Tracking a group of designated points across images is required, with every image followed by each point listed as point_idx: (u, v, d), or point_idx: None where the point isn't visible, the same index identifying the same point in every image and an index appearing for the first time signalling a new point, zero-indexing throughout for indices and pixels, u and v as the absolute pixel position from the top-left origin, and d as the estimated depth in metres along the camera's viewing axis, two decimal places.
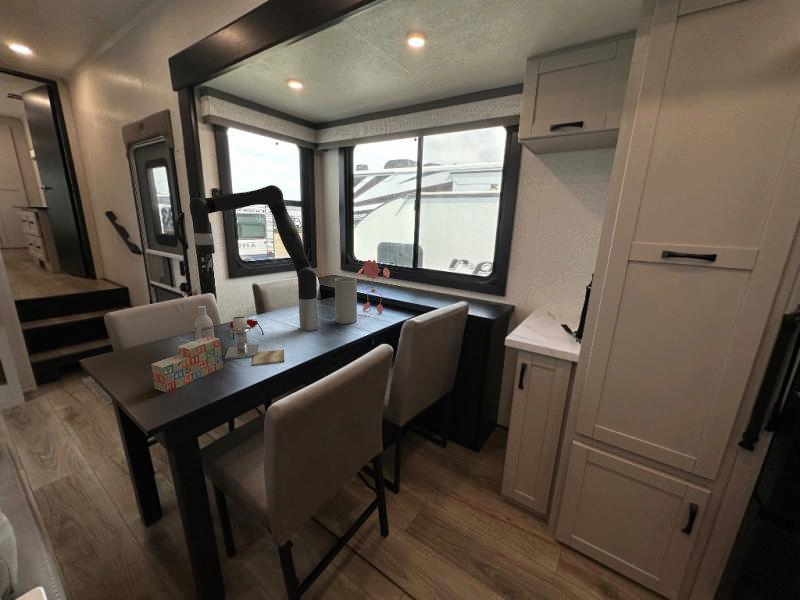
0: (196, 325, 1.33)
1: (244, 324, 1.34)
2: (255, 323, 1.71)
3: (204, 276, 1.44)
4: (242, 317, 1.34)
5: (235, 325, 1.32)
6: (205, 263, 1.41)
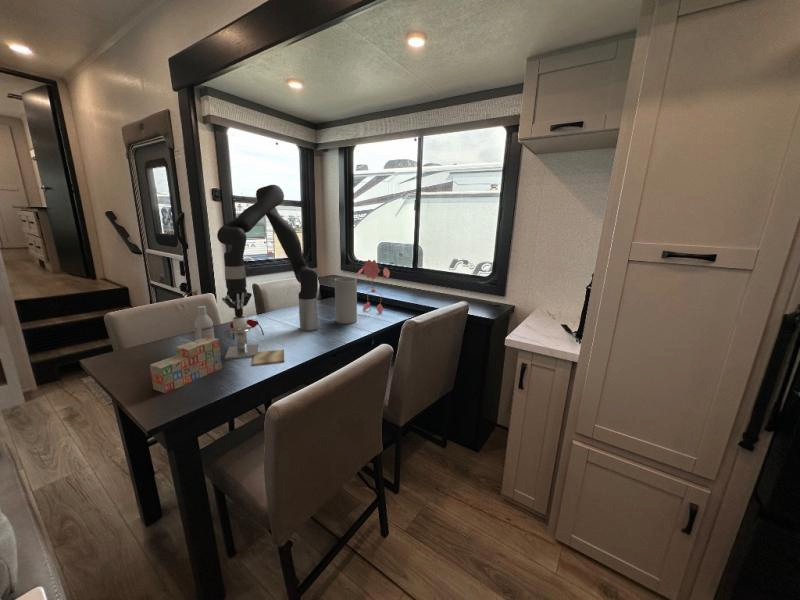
0: (196, 325, 1.33)
1: (244, 324, 1.34)
2: (255, 323, 1.71)
3: (242, 312, 1.35)
4: (242, 317, 1.34)
5: (235, 325, 1.32)
6: None
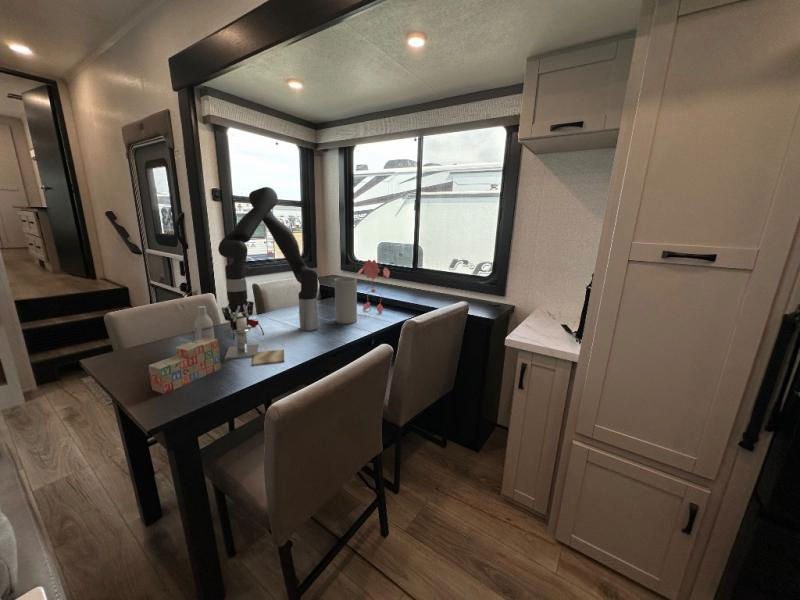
0: (196, 325, 1.33)
1: (244, 324, 1.34)
2: (256, 323, 1.71)
3: (248, 321, 1.38)
4: (242, 317, 1.34)
5: None
6: None
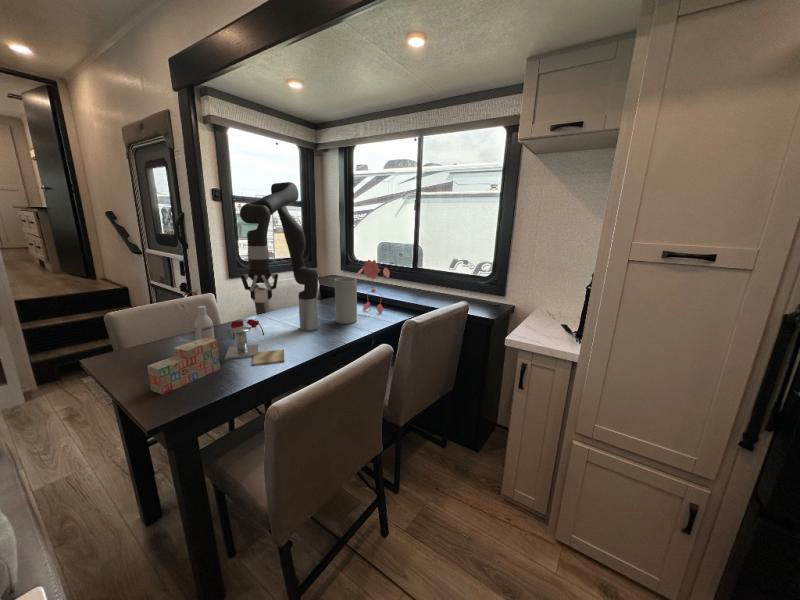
0: (196, 325, 1.33)
1: (261, 296, 1.25)
2: (256, 323, 1.72)
3: None
4: (262, 289, 1.26)
5: (254, 295, 1.26)
6: None
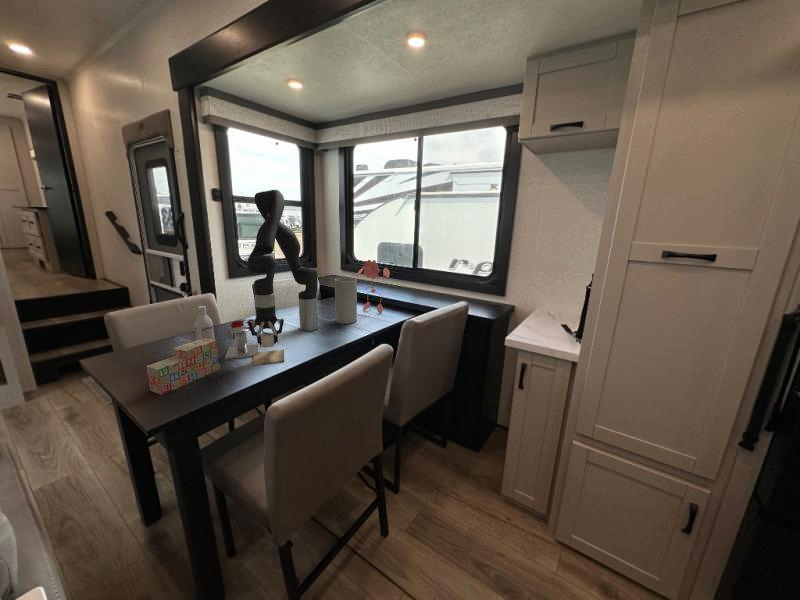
0: (196, 325, 1.33)
1: (267, 341, 1.29)
2: None
3: (277, 339, 1.32)
4: (268, 334, 1.30)
5: (261, 340, 1.30)
6: None
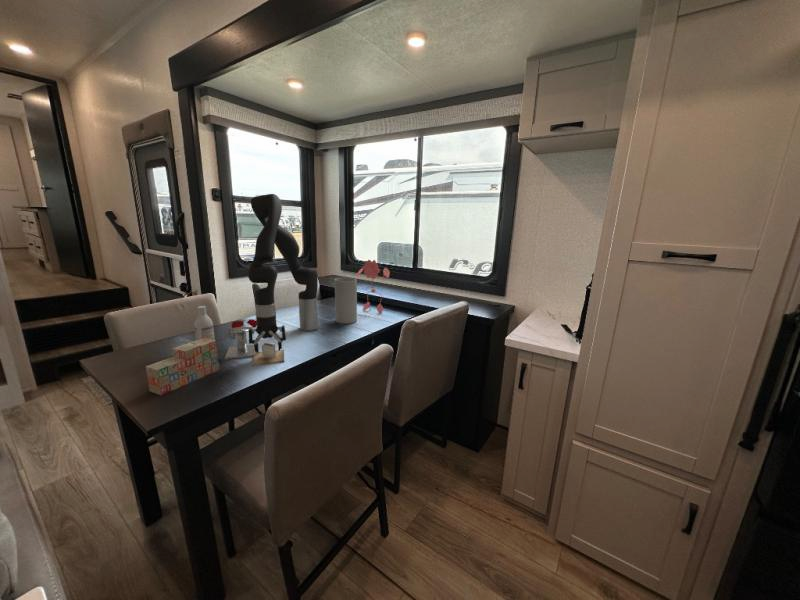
0: (196, 325, 1.33)
1: (269, 352, 1.30)
2: None
3: (281, 346, 1.34)
4: (269, 345, 1.31)
5: (262, 351, 1.31)
6: None
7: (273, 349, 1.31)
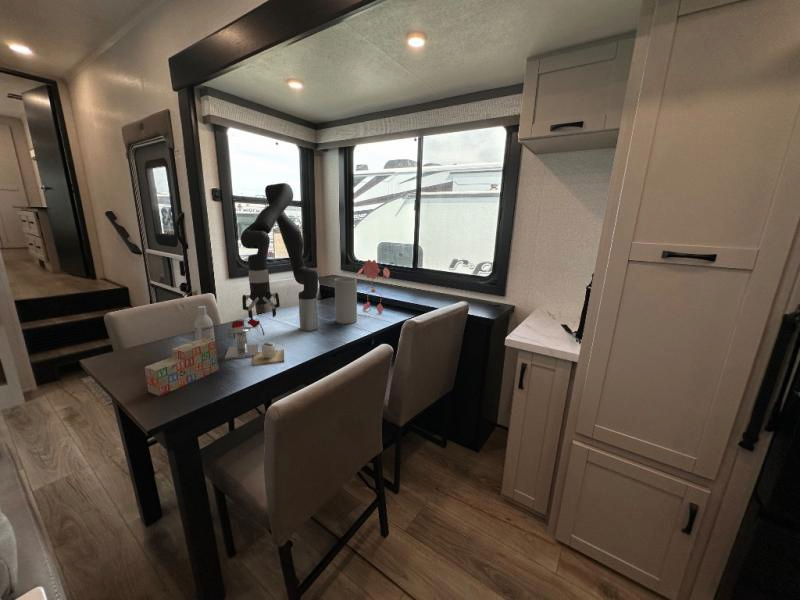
0: (196, 325, 1.33)
1: (269, 352, 1.30)
2: (257, 323, 1.72)
3: None
4: (269, 345, 1.31)
5: (262, 351, 1.31)
6: None
7: (273, 349, 1.31)
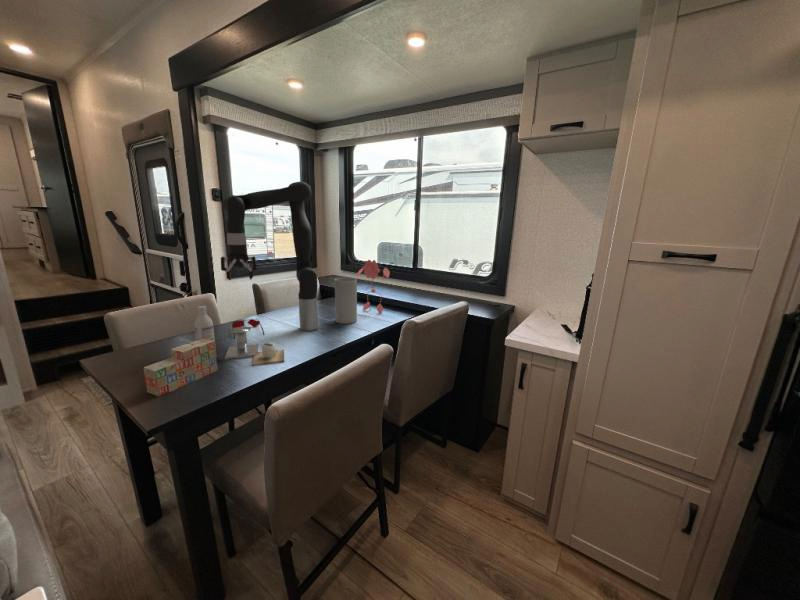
0: (196, 325, 1.33)
1: (269, 352, 1.30)
2: (257, 323, 1.72)
3: (252, 275, 1.44)
4: (269, 345, 1.31)
5: (262, 351, 1.31)
6: (255, 262, 1.45)
7: (273, 349, 1.31)
